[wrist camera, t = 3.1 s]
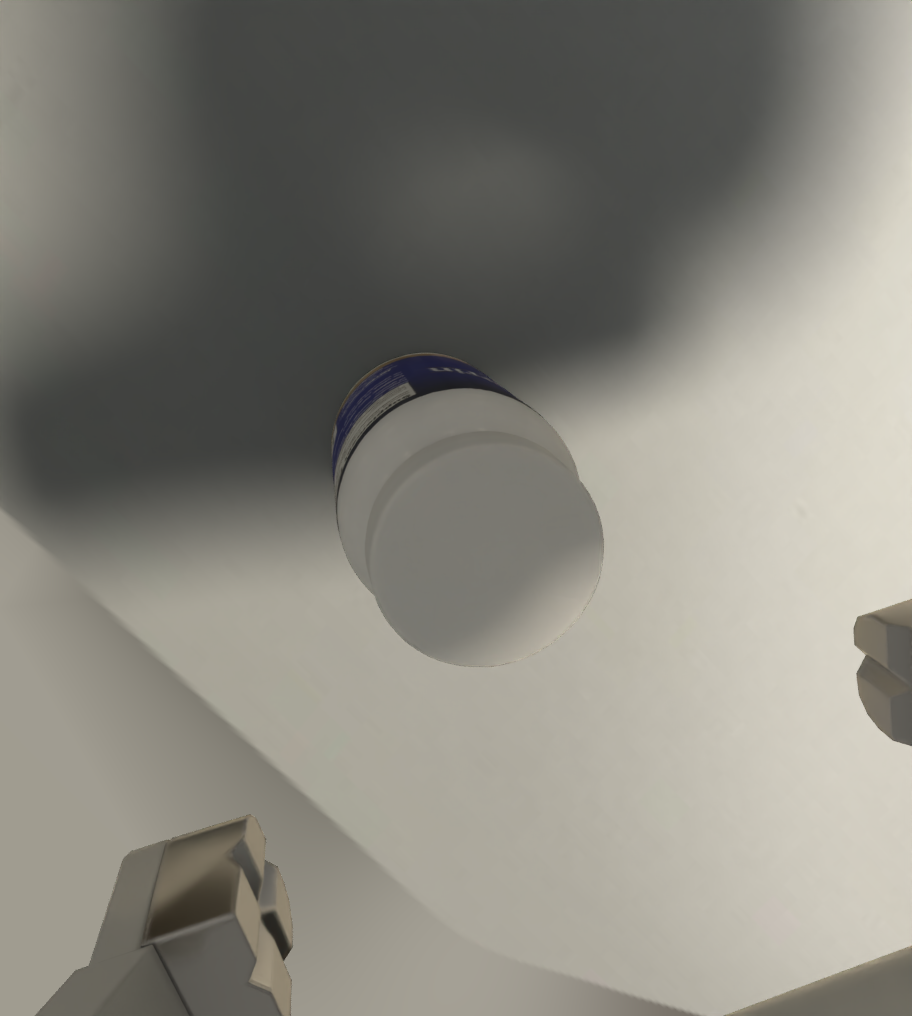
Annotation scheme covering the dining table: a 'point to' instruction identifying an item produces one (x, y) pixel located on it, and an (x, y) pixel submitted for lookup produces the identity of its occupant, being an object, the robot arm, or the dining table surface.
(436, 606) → the pill bottle
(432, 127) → the dining table surface
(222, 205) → the dining table surface
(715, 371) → the dining table surface
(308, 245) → the dining table surface
